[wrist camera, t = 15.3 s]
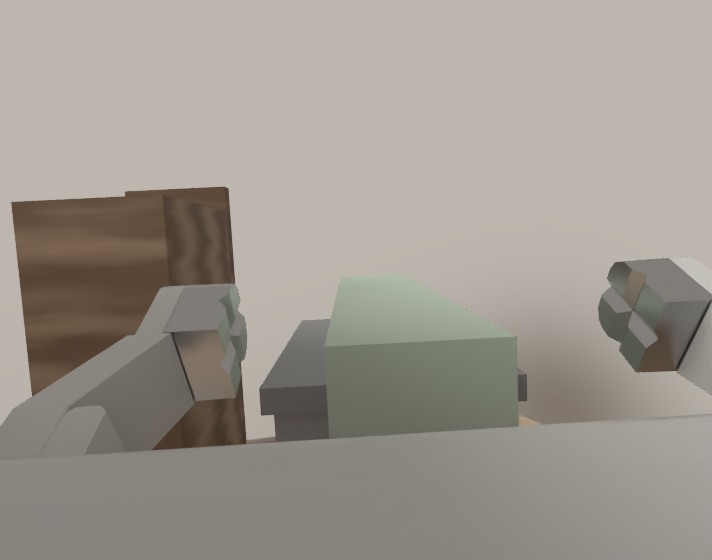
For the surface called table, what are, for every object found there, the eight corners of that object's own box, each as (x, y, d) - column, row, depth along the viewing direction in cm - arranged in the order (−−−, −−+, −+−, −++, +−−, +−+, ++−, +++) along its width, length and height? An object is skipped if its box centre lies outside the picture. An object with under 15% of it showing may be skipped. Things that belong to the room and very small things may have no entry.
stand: (219, 580, 32) (186, 153, 30) (19, 592, 32) (-30, 164, 30) (267, 456, 51) (249, 188, 49) (141, 463, 51) (117, 195, 49)
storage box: (536, 818, 18) (526, 374, 17) (289, 833, 18) (259, 388, 17) (452, 559, 33) (443, 313, 32) (316, 567, 33) (301, 320, 32)
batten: (520, 476, 10) (516, 336, 10) (332, 486, 10) (324, 346, 10) (404, 320, 30) (402, 274, 29) (342, 323, 30) (340, 277, 29)
